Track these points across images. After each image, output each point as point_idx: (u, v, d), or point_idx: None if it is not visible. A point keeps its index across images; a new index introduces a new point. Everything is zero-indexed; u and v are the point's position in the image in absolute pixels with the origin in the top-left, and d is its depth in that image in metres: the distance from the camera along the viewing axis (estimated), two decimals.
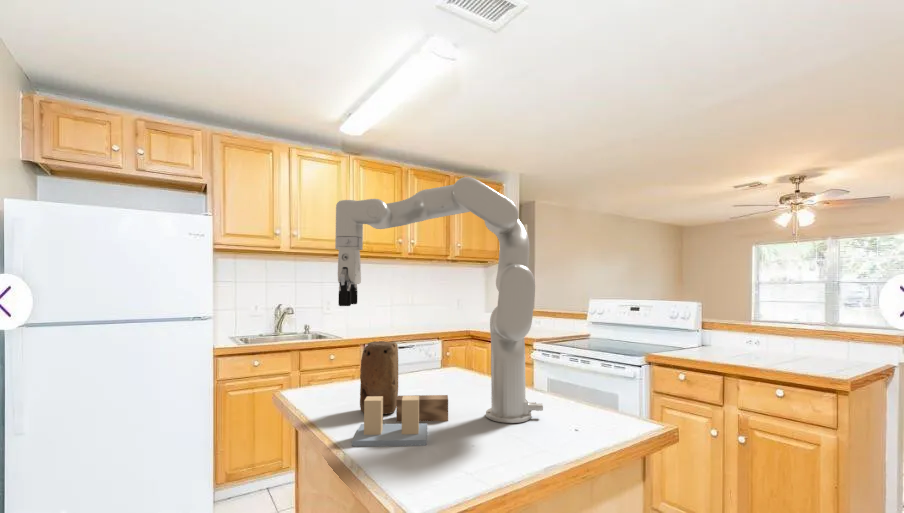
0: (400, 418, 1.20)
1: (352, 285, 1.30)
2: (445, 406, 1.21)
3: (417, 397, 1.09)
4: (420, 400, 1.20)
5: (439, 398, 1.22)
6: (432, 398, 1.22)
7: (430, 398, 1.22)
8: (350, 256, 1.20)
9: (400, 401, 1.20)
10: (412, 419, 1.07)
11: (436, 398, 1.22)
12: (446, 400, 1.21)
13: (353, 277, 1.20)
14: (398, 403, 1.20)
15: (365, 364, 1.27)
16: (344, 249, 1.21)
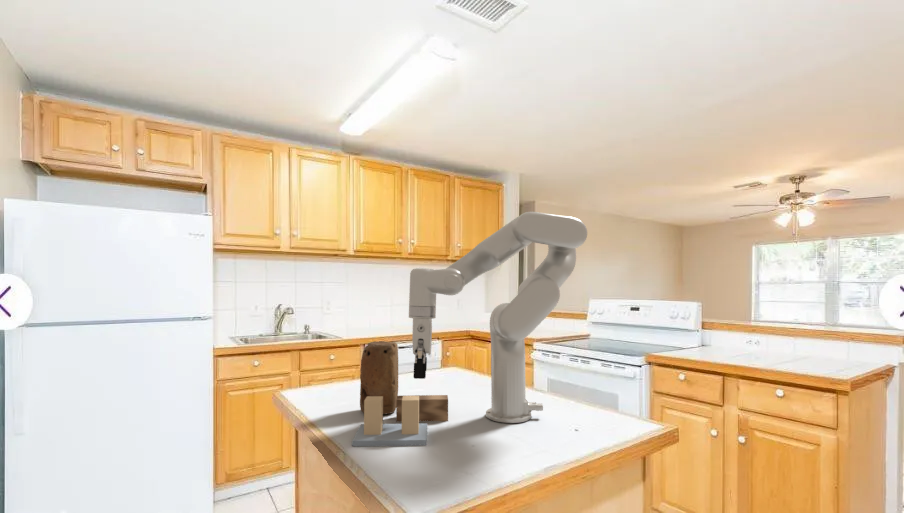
0: (400, 418, 1.20)
1: None
2: (445, 406, 1.21)
3: (417, 397, 1.09)
4: (420, 400, 1.20)
5: (439, 398, 1.22)
6: (432, 398, 1.22)
7: (430, 398, 1.22)
8: (426, 327, 1.19)
9: (400, 401, 1.20)
10: (412, 419, 1.07)
11: (436, 398, 1.22)
12: (446, 400, 1.21)
13: (429, 349, 1.19)
14: (398, 403, 1.20)
15: (365, 364, 1.27)
16: (420, 320, 1.19)
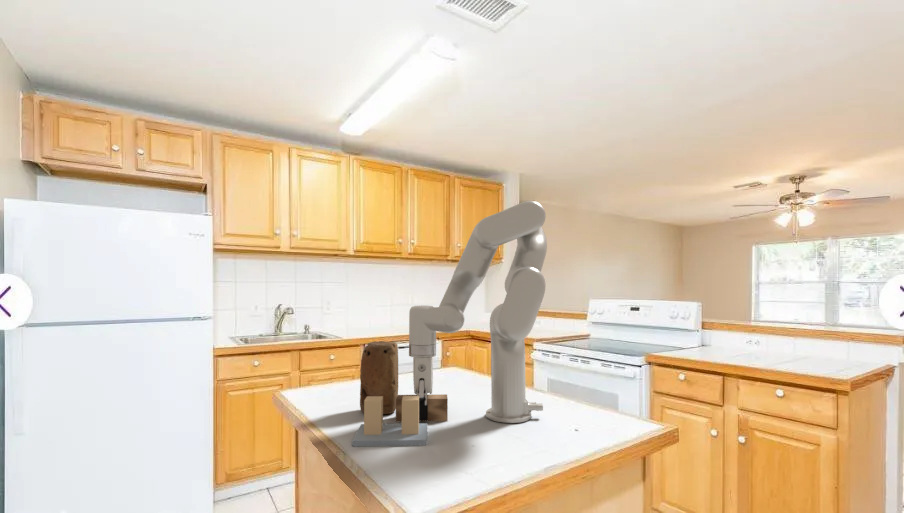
0: (400, 417, 1.20)
1: None
2: (444, 405, 1.21)
3: (417, 397, 1.09)
4: None
5: (438, 397, 1.22)
6: (431, 397, 1.22)
7: (429, 397, 1.22)
8: (426, 367, 1.19)
9: (399, 400, 1.20)
10: (412, 419, 1.07)
11: (435, 397, 1.22)
12: (445, 399, 1.21)
13: (430, 388, 1.18)
14: (397, 402, 1.20)
15: (364, 364, 1.27)
16: (420, 359, 1.19)
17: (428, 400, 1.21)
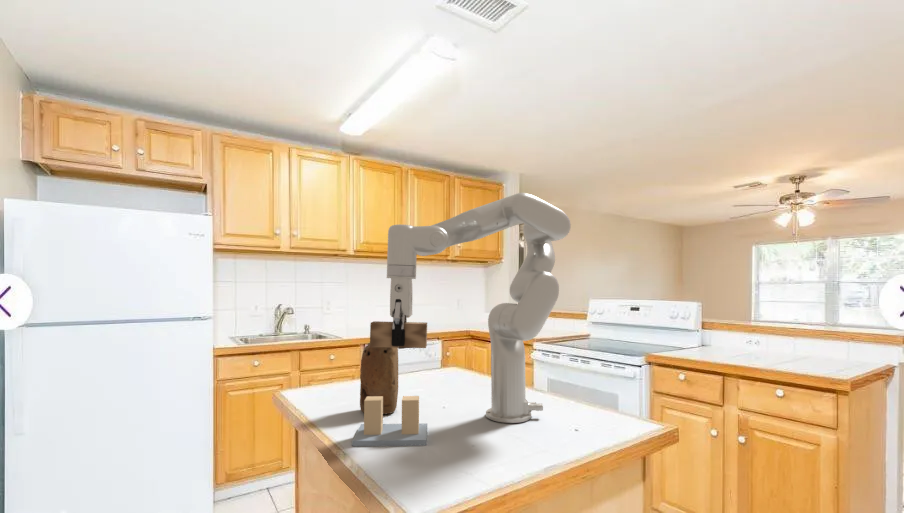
0: (374, 342, 1.11)
1: None
2: (423, 331, 1.11)
3: (417, 397, 1.09)
4: None
5: (417, 323, 1.12)
6: (409, 323, 1.12)
7: (407, 323, 1.12)
8: (404, 287, 1.09)
9: (374, 324, 1.11)
10: (412, 419, 1.07)
11: (414, 323, 1.12)
12: (424, 325, 1.11)
13: (407, 310, 1.09)
14: (372, 326, 1.11)
15: (365, 364, 1.27)
16: (397, 279, 1.10)
17: (405, 325, 1.11)
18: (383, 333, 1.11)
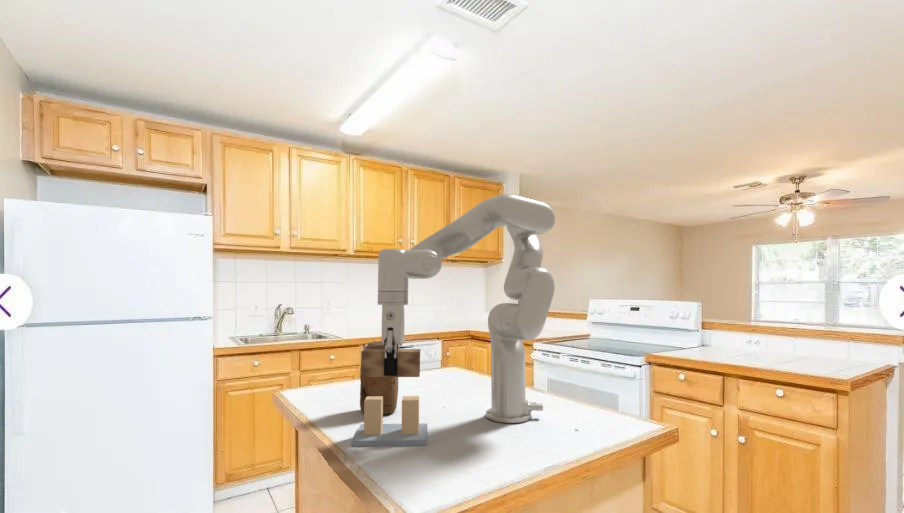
0: (365, 372, 1.07)
1: (393, 349, 1.13)
2: (416, 359, 1.07)
3: (417, 397, 1.09)
4: None
5: (410, 351, 1.08)
6: (402, 351, 1.08)
7: (399, 351, 1.08)
8: (396, 315, 1.05)
9: (365, 353, 1.07)
10: (412, 419, 1.07)
11: (406, 351, 1.08)
12: (417, 353, 1.07)
13: (399, 339, 1.05)
14: (363, 355, 1.07)
15: None
16: (389, 306, 1.06)
17: (398, 353, 1.07)
18: (375, 362, 1.07)
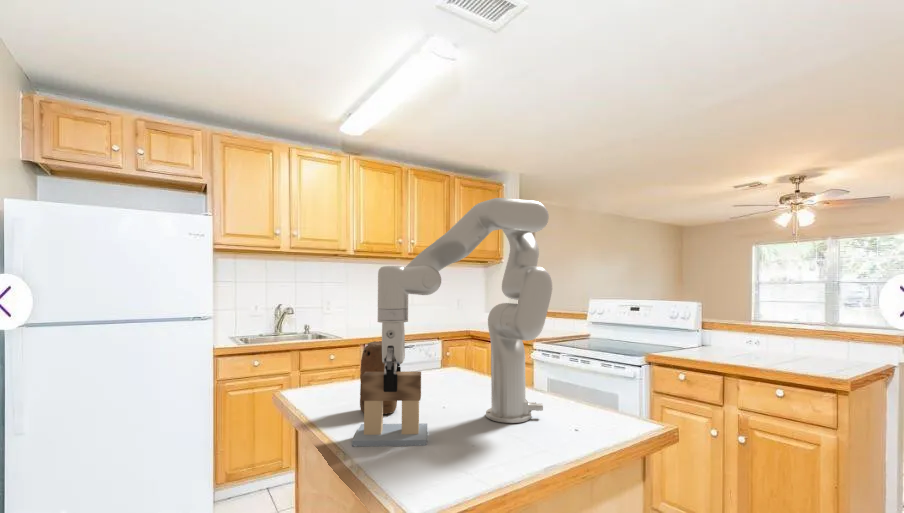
0: (366, 396, 1.06)
1: None
2: (417, 383, 1.07)
3: None
4: None
5: (410, 374, 1.08)
6: (403, 374, 1.08)
7: (400, 374, 1.08)
8: (396, 333, 1.05)
9: (366, 377, 1.07)
10: (412, 419, 1.07)
11: (407, 374, 1.08)
12: (418, 376, 1.07)
13: (400, 357, 1.04)
14: (364, 379, 1.07)
15: (365, 364, 1.27)
16: (389, 324, 1.05)
17: (398, 377, 1.07)
18: (376, 386, 1.07)
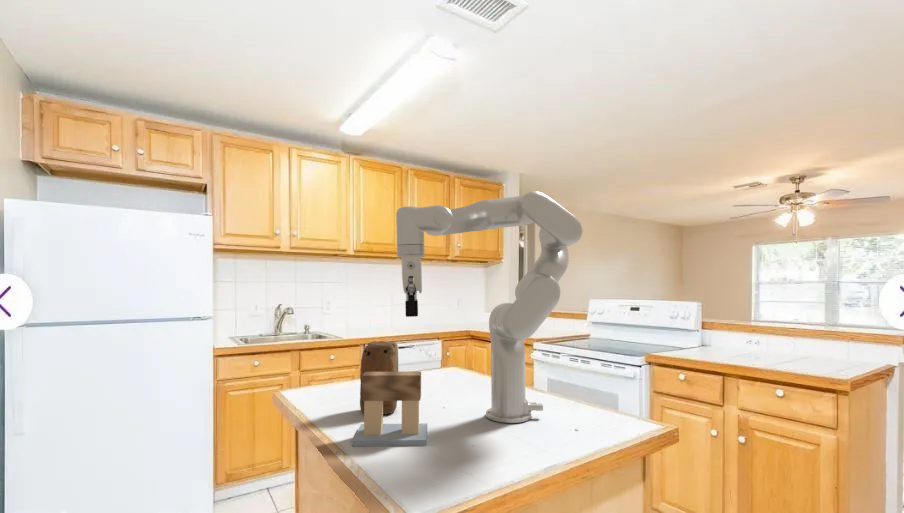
0: (366, 396, 1.06)
1: None
2: (417, 383, 1.07)
3: None
4: (389, 376, 1.07)
5: (410, 374, 1.08)
6: (403, 374, 1.08)
7: (400, 374, 1.08)
8: (416, 265, 1.17)
9: (366, 377, 1.07)
10: (412, 419, 1.07)
11: (407, 374, 1.08)
12: (418, 376, 1.07)
13: (420, 286, 1.16)
14: (364, 379, 1.07)
15: (365, 364, 1.27)
16: (409, 257, 1.17)
17: (398, 377, 1.07)
18: (376, 386, 1.07)
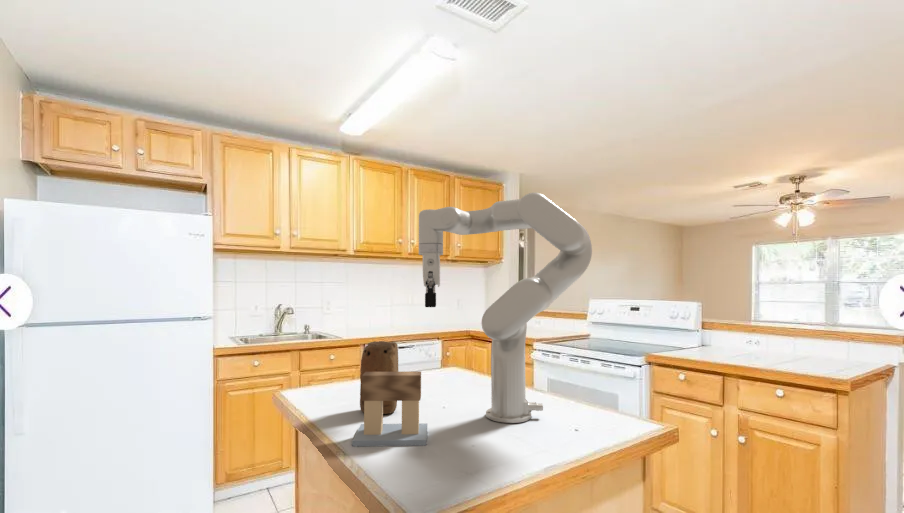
0: (366, 396, 1.06)
1: None
2: (417, 383, 1.07)
3: None
4: (389, 376, 1.07)
5: (410, 374, 1.08)
6: (403, 374, 1.08)
7: (400, 374, 1.08)
8: (435, 261, 1.31)
9: (366, 377, 1.07)
10: (412, 419, 1.07)
11: (407, 374, 1.08)
12: (418, 376, 1.07)
13: (438, 280, 1.31)
14: (364, 379, 1.07)
15: (365, 364, 1.27)
16: (429, 255, 1.32)
17: (398, 377, 1.07)
18: (376, 386, 1.07)
